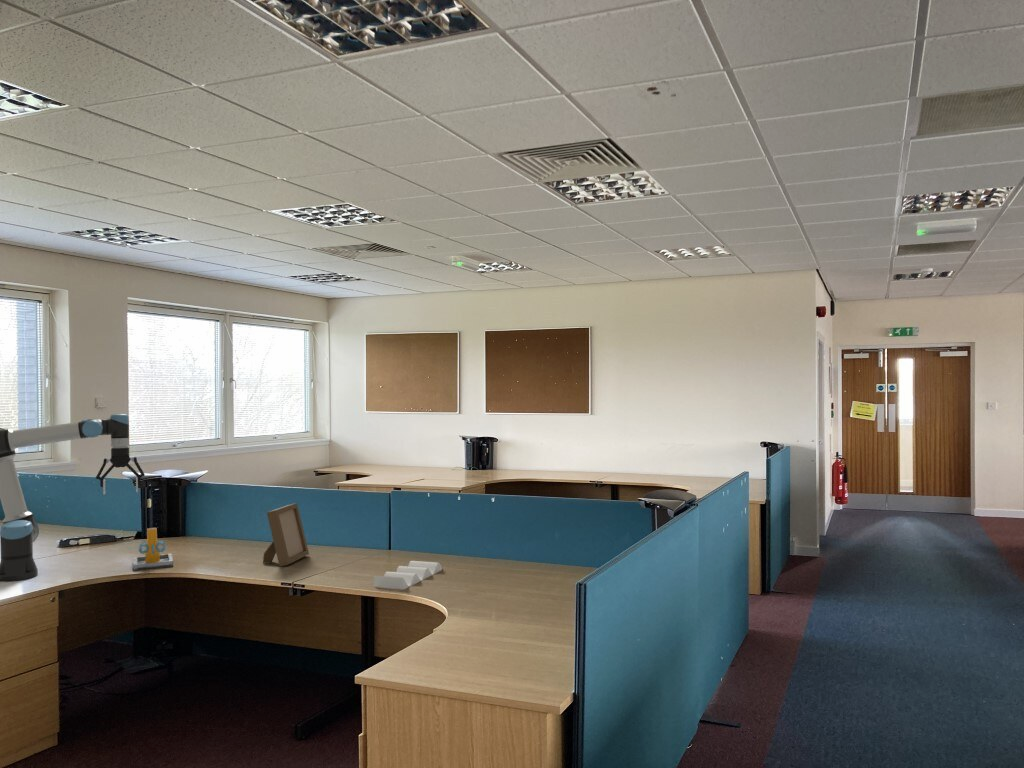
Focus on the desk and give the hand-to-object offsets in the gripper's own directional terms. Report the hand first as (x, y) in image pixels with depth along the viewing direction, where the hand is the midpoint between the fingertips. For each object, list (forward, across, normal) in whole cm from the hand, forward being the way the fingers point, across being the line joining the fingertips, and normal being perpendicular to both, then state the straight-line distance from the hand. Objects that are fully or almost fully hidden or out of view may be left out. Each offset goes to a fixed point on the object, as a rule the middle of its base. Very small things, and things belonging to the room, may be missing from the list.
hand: (120, 493), depth 365 cm
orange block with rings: (+31, +13, -15) cm, 36 cm away
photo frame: (+32, +67, -38) cm, 83 cm away
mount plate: (+32, +13, -15) cm, 37 cm away
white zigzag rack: (+32, +108, -97) cm, 149 cm away
